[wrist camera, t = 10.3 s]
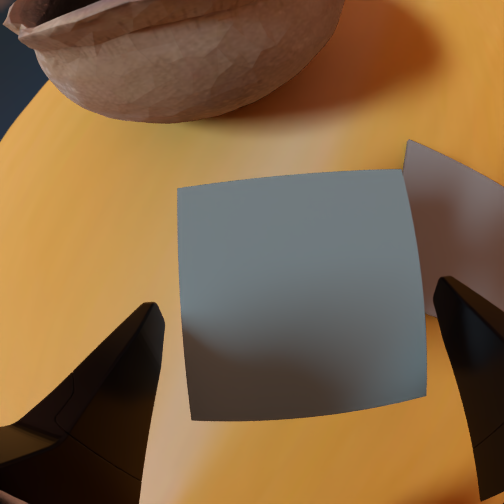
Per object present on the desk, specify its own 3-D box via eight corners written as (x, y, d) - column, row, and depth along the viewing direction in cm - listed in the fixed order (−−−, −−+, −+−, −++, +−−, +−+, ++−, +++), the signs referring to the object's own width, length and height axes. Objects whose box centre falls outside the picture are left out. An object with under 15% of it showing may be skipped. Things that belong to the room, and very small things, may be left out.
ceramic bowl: (79, 77, 25) (7, -8, 10) (241, -15, 26) (222, -113, 11) (161, 231, 21) (-5, 120, 6) (387, 85, 21) (437, -59, 6)
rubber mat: (499, 339, 17) (502, 339, 16) (372, 295, 18) (374, 295, 18) (518, 199, 18) (521, 198, 18) (407, 141, 20) (408, 139, 20)
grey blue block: (355, 351, 17) (426, 395, 7) (239, 362, 18) (191, 420, 8) (344, 238, 18) (401, 169, 8) (231, 248, 19) (177, 188, 9)
